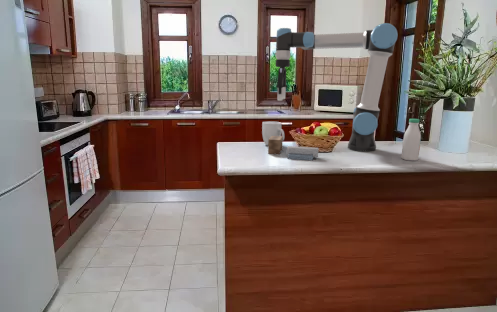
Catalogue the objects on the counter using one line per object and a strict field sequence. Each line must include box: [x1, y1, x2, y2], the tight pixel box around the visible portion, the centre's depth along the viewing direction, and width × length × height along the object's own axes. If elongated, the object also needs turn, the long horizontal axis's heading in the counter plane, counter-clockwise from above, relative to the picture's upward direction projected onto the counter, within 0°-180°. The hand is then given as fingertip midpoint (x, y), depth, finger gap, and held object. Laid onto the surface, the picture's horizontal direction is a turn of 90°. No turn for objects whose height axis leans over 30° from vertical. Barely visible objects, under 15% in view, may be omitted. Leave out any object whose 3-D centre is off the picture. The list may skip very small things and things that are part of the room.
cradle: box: [287, 154, 314, 161], centre depth 175 cm, size 12×9×2 cm
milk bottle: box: [401, 118, 422, 162], centre depth 173 cm, size 8×8×20 cm
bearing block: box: [267, 135, 284, 155], centre depth 187 cm, size 6×12×8 cm, turn 168°
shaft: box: [286, 145, 319, 158], centre depth 174 cm, size 15×4×4 cm, turn 78°
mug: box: [261, 120, 285, 146], centre depth 203 cm, size 15×11×13 cm
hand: (281, 99), depth 192 cm, fingers open, 13 cm apart
